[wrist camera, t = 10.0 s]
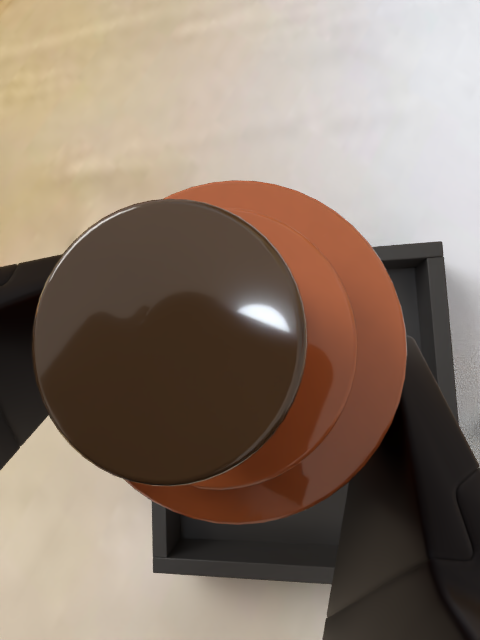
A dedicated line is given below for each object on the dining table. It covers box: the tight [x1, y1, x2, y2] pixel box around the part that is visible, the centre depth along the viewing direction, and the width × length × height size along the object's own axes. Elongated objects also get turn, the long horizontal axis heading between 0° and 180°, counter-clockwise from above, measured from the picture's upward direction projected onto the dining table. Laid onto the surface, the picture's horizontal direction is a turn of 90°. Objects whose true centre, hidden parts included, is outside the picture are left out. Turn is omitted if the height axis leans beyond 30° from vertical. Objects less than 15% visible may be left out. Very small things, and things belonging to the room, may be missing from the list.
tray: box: [152, 242, 459, 584], centre depth 21 cm, size 17×16×3 cm
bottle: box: [32, 181, 407, 525], centre depth 10 cm, size 6×6×12 cm
